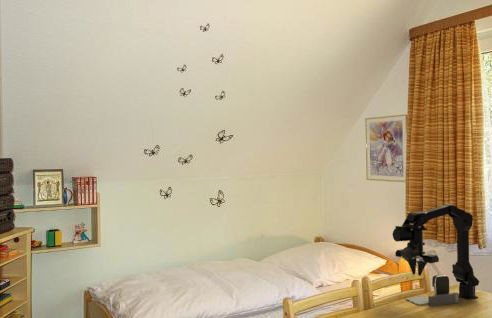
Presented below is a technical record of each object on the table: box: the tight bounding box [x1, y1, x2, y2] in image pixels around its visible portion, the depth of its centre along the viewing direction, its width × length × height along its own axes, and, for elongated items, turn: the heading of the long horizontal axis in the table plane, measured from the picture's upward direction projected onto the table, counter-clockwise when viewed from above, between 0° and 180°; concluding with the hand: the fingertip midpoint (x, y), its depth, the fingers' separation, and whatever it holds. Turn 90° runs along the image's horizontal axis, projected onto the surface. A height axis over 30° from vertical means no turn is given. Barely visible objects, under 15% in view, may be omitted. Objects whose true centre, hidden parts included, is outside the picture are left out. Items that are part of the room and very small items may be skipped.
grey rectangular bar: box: [427, 292, 459, 307], centre depth 185 cm, size 15×2×4 cm, turn 108°
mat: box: [404, 295, 429, 306], centre depth 189 cm, size 10×9×1 cm
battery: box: [431, 274, 450, 295], centre depth 191 cm, size 7×4×11 cm, turn 105°
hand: (416, 275), depth 189 cm, fingers open, 3 cm apart
